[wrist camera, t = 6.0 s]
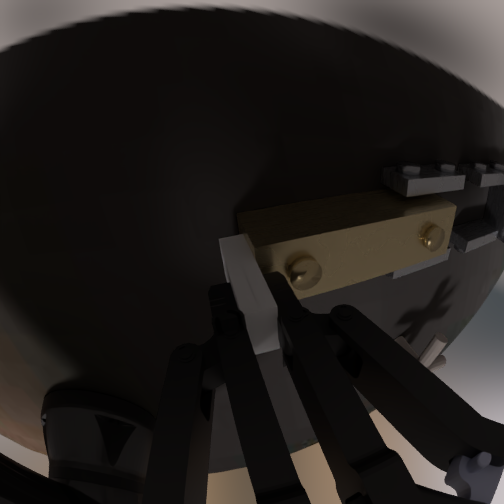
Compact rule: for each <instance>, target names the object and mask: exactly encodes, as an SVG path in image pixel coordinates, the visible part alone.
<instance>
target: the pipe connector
mask: <svg viewBox="0 0 504 504" xmlns="http://www.w3.org/2000/svg"><path fill="white" fill-rule="evenodd" d="M395 341H396V342H397V343H398V344H399V345H401V346H402V347H403V348H404V349H405V350H406V351H408V352H409V353H410V354H411V355H412V356H414V357H415V358H416V359H417V360H418V361H419V362H421V363H422V364H423V365H424V366H425V367H426V368H428V369H429V370H430V371H431V372H433V371H436V370H439V369H440V368H443V367H444V366H445V364H446V359H445V357H444V356H443V355H438V354H439V353H440V352H441V350H442V349H443V347H444V346H445V345H446V343H447V342H448V341H447V338H446V337H445V336H444V335H443V334H441V333H438V332H437V333H436V334H435V335H434V337H433V338H432V339H431V341H430V342H429V344H428V345H427V347H426V348H425V349H424V351H423V352H422V354H421V355H420V356H418V355H417V354H416V352H415V351H414V350H413V349H412V347H411V346H410V345H409V344H408V342H407V341H406V340H405V339H404V337H403V336H399V337H398V338H396V339H395Z"/></svg>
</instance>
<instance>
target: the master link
mask: <svg viewBox="0 0 504 504" xmlns="http://www.w3.org/2000/svg"><path fill="white" fill-rule="evenodd" d="M456 207H457V206H456V205H454V204H452V203H451V202H449V201H447V200H445V199H443V198H442V197H440V196H438V195H436V194H434V193H431V194H424V195H417V196H410V197H406V196H404V195H402V194H400V193H399V192H397V191H395V190H393V189H391V188H389V189H381V190H374V191H367V192H360V193H353V194H346V195H339V196H333V197H327V198H320V199H314V200H308V201H302V202H296V203H290V204H284V205H279V206H273V207H268V208H262V209H257V210H251V211H246V212H241V213H236V214H237V221H238V228H239V235H240V234H243V235H244V237H245V239H246V241H247V243H248V245H249V247H250V249H251V252H252V254H253V256H254V258H255V260H256V262H257V264H258V266H259V268H260V271H261V273H262V274H266V273H270V272H275V271H278V272H280V273H281V274H283V275H284V276H285V278H286V279H287V281H288V283H289V285H290V286H291V288H292V290H293V292H294V293H295V295H296V297H297V299H302V298H306V297H309V296H313V295H317V294H320V293H324V292H327V291H331V290H334V289H338V288H341V287H345V286H348V285H352V284H355V283H358V282H361V281H365V280H368V279H371V278H374V277H378V276H381V275H384V274H387V273H390V272H393V271H396V270H399V269H402V268H405V267H408V266H411V265H414V264H417V263H420V262H423V261H426V260H429V259H432V258H434V257H437V256H440V255H443V254H446V251H447V247H448V243H449V239H450V235H451V231H452V227H453V222H454V217H455V212H456Z"/></svg>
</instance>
